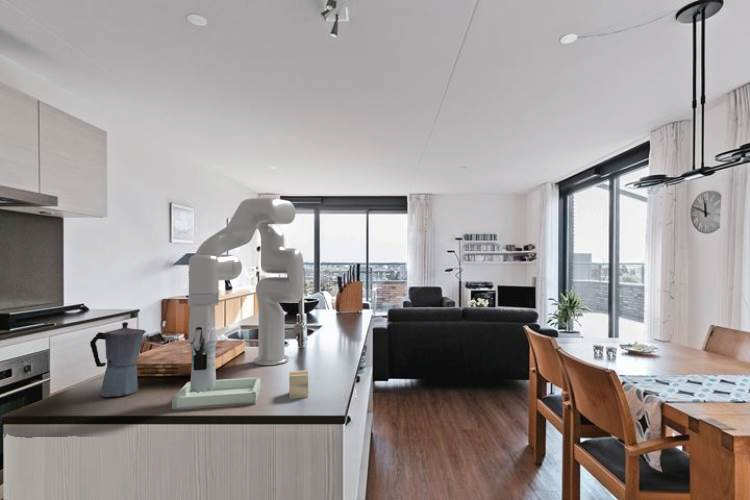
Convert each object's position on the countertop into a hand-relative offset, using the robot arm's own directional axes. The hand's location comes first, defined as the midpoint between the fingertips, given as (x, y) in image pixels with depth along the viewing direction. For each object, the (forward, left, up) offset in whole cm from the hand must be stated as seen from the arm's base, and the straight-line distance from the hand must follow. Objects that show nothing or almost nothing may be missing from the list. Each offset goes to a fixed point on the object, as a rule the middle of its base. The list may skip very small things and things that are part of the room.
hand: (203, 365), depth 104 cm
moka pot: (-10, -25, -9) cm, 28 cm away
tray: (0, +4, -9) cm, 10 cm away
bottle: (0, 0, -7) cm, 7 cm away
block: (+2, +25, -9) cm, 27 cm away
